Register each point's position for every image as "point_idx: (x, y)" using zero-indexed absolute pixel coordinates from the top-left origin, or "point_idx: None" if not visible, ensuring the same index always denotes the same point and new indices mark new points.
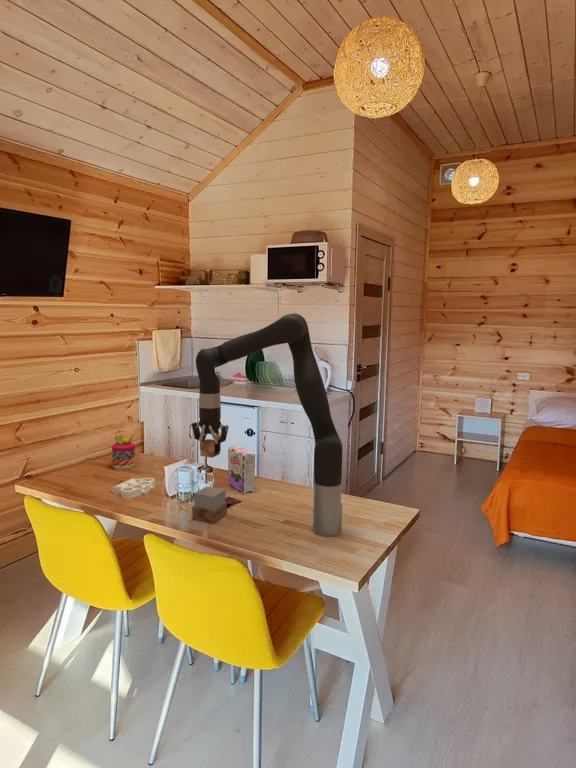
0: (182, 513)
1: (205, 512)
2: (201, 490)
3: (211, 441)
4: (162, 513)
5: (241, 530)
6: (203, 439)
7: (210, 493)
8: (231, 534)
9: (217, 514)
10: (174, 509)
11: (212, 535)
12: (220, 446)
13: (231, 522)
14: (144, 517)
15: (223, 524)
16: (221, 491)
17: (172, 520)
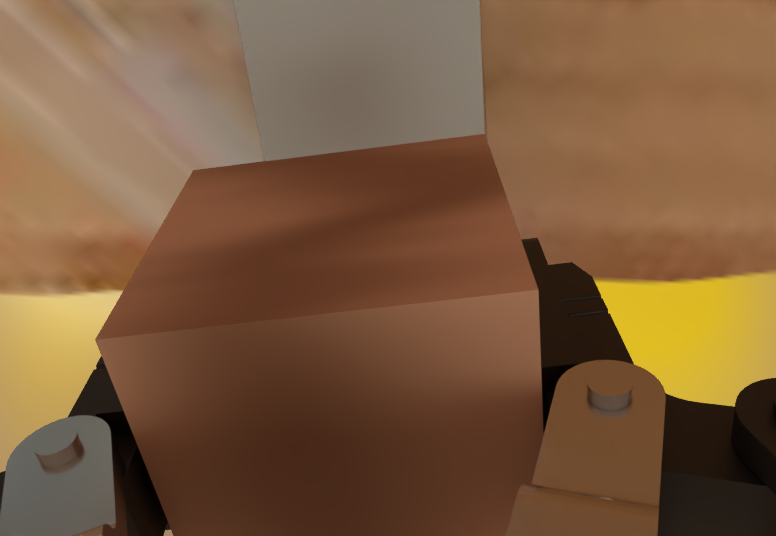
0: (146, 80)
1: None
2: (276, 106)
3: (390, 471)
4: (35, 156)
5: (705, 94)
6: (141, 527)
7: (409, 126)
8: (667, 177)
9: None
10: (33, 51)
11: (562, 245)
12: (615, 330)
13: (574, 16)
14: (8, 262)
15: (538, 78)
16: (472, 17)
17: None
